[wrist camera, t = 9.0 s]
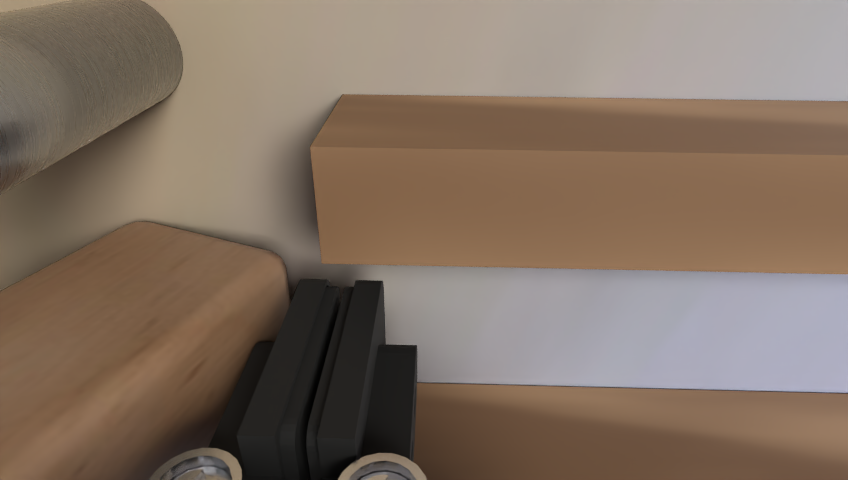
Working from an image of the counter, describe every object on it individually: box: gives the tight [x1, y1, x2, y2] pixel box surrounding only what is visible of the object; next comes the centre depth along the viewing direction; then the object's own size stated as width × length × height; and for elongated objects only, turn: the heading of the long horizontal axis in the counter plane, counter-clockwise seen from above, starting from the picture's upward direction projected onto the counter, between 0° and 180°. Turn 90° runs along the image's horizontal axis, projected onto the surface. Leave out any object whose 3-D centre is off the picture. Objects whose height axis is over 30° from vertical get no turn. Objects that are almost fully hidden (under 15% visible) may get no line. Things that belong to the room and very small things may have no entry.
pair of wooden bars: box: [310, 94, 848, 480], centre depth 11 cm, size 10×16×3 cm, turn 90°
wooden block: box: [0, 221, 290, 480], centre depth 9 cm, size 4×4×8 cm
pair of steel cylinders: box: [0, 0, 183, 195], centre depth 9 cm, size 13×2×10 cm, turn 0°
